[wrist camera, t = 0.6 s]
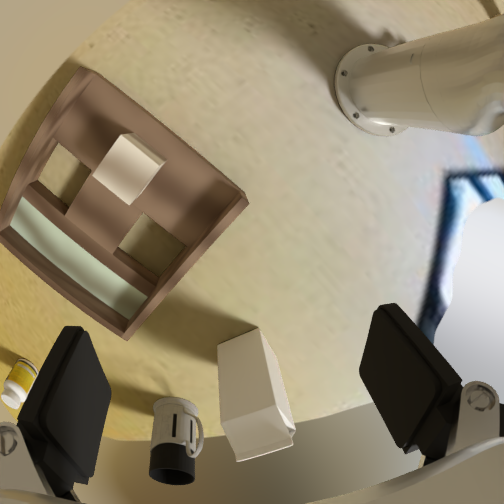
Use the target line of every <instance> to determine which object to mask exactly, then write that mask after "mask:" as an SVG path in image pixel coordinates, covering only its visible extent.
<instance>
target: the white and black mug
mask: <svg viewBox="0 0 504 504" xmlns="http://www.w3.org/2000/svg"><path fill="white" fill-rule="evenodd" d="M153 410H154V413H155V414H154V422H153V430H152V438H151V448H150V453H151V457H150V468H149V475H150V477H152V479H154V480H156V481H158V482H161V483H165V484H170V485H186V484H190V483H192V482H194V480H195V457H196V456H197V455H198V454H199V453H200V451H201V449H202V446H203V439H204V437H203V428H202V424H201V421H200V420H199V418H198V417H197V416H198V409H197V407H196V406H195V405H194V404H193V403H191V402H190V401H188V400H185V399H182V398H177V397H165V398H162V399H159V400H157V401H156V402H155V403H154V405H153ZM196 422H197V425H198V430H199V443H198V447H197V449H196Z"/></svg>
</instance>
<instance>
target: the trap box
mask: <svg viewBox="0 0 504 504" xmlns="http://www.w3.org/2000/svg"><path fill="white" fill-rule="evenodd" d="M129 133H135V134H136V135H137V136H139V137H140V138H141V139H142V140H144V141H145V142H146V143H147V144H149V145H150V146H151V147H152V148H153V149H155V150H156V151H157V152H158V153H160V154H161V155H162V156H163V157H165V158H166V159H167V161H166V162H165V164H164V165H163V166H162V167H161V169H160V170H159V171H158V172H157V174H156V175H155V176H154V177H153V179H152V180H151V181H150V183H149V184H148V185H147V186H146V188H145V189H144V190H143V192H142V193H141V194H140V195H139V196H138V197H137V198H136V199H135V200H134V201H133V202H132V203H131V204H130V205H128V204H127V203H125V202H124V201H123V200H122V199H120V198H119V197H118V196H117V195H115V194H114V193H113V192H112V191H110V190H109V189H108V188H107V187H106V186H104V185H103V184H102V183H101V182H99V181H98V180H97V179H96V178H95V177H93V176H92V175H93V174H94V172H95V171H96V169H97V168H98V166H99V165H100V163H101V162H102V160H103V159H104V157H105V156H106V154H107V153H108V152H109V150H110V149H111V147H112V146H113V145H114V143H115V142H116V141H117V139H118V138H119V136H120V135H122V134H129ZM58 142H59V143H60V144H61V145H62V146H63V147H65V148H66V149H67V150H68V151H69V152H70V153H72V154H73V155H74V156H75V157H76V158H78V159H79V160H80V161H81V162H82V163H84V164H85V165H86V166H87V167H88V168H90V169H91V170H92V172H91V173H90V175H89V176H88V178H87V179H86V181H85V183H84V184H83V186H82V187H81V189H80V191H79V192H78V194H77V196H76V197H75V199H74V201H73V202H72V204H71V206H70V207H68V206H67V205H66V204H64V203H63V202H62V201H61V200H60V199H59V198H57V197H56V196H55V195H54V194H53V193H52V192H50V191H49V190H48V189H47V188H46V187H45V186H44V185H43V184H41V183H40V182H39V181H38V178H39V176H40V174H41V172H42V170H43V168H44V167H45V165H46V163H47V161H48V159H49V158H50V156H51V154H52V152H53V151H54V149H55V147H56V145H57V144H58ZM248 205H249V202H248V199H247V197H246V195H245V192H244V191H242V190H241V189H240V188H239V187H238V186H237V185H236V184H234V183H233V182H232V181H231V180H230V179H229V178H227V177H226V176H225V175H224V174H223V173H222V172H220V171H219V170H218V169H217V168H216V167H215V166H213V165H212V164H211V163H210V162H209V161H207V160H206V159H205V158H204V157H203V156H201V155H200V154H199V153H198V152H197V151H195V150H194V149H193V148H192V147H191V146H189V145H188V144H187V143H186V142H185V141H183V140H182V139H181V138H180V137H179V136H177V135H176V134H175V133H174V132H172V131H171V130H170V129H169V128H168V127H166V126H165V125H164V124H163V123H161V122H160V121H159V120H158V119H156V118H155V117H154V116H153V115H151V114H150V113H149V112H148V111H146V110H145V109H144V108H143V107H141V106H140V105H139V104H138V103H136V102H135V101H134V100H133V99H131V98H130V97H129V96H127V95H126V94H125V93H124V92H122V91H121V90H120V89H118V88H117V87H116V86H115V85H113V84H112V83H111V82H109V81H108V80H107V79H105V78H104V77H103V76H102V75H100V74H99V73H97V72H94V71H91V70H89V69H86V68H83V67H80V68H79V69H78V70H77V72H76V73H75V74H74V76H73V77H72V78H71V80H70V81H69V83H68V84H67V85H66V87H65V88H64V90H63V91H62V93H61V94H60V96H59V97H58V99H57V100H56V102H55V103H54V105H53V106H52V108H51V110H50V111H49V113H48V114H47V116H46V118H45V119H44V121H43V123H42V124H41V126H40V128H39V130H38V131H37V133H36V135H35V137H34V138H33V140H32V142H31V144H30V146H29V148H28V150H27V152H26V154H25V155H24V157H23V159H22V161H21V164H20V166H19V168H18V170H17V172H16V174H15V176H14V178H13V181H12V183H11V185H10V187H9V190H8V192H7V195H6V197H5V199H4V202H3V204H2V207H1V210H0V243H2V244H3V245H4V246H5V247H6V248H7V249H8V250H9V251H10V252H11V253H12V254H13V255H14V256H16V257H17V258H18V259H19V260H20V261H21V262H22V263H23V264H24V265H26V266H27V267H28V268H29V269H30V270H31V271H33V272H34V273H35V274H36V275H37V276H38V277H40V278H41V279H42V280H43V281H44V282H46V283H47V284H48V285H49V286H51V287H52V288H53V289H54V290H56V291H57V292H58V293H59V294H61V295H62V296H63V297H65V298H66V299H67V300H69V301H70V302H71V303H72V304H74V305H75V306H76V307H78V308H79V309H81V310H82V311H83V312H85V313H86V314H87V315H89V316H90V317H92V318H93V319H94V320H96V321H97V322H99V323H100V324H102V325H103V326H105V327H106V328H107V329H109V330H110V331H112V332H113V333H115V334H116V335H118V336H119V337H121V338H123V339H124V340H126V341H128V340H129V339H130V337H131V336H132V335H133V334H134V333H135V332H136V330H137V329H138V328H139V327H140V326H141V325H142V323H143V322H144V321H145V320H146V319H147V317H148V316H149V315H150V314H151V313H152V312H153V310H154V309H155V308H156V307H157V306H158V305H159V304H160V302H161V301H162V300H163V299H164V298H165V297H166V295H167V294H168V293H169V292H170V291H171V290H172V289H173V287H174V286H175V285H176V284H177V283H178V282H179V281H180V280H181V278H182V277H183V276H184V275H185V274H186V273H187V272H188V270H189V269H190V268H191V267H192V266H193V265H194V264H195V263H196V262H197V260H198V259H199V258H200V257H201V256H202V255H203V254H204V253H205V251H206V250H207V249H208V248H209V247H210V246H211V245H212V244H213V243H214V242H215V240H216V239H217V238H218V237H219V236H220V235H221V234H222V233H223V232H224V231H225V229H226V228H227V227H228V226H229V225H230V224H231V223H232V222H233V221H234V220H235V219H236V217H237V216H238V215H239V214H240V213H241V212H242V211H243V210H244V209H245V208H246V207H247V206H248ZM143 212H144V213H145V214H146V215H147V216H149V217H150V218H151V219H153V220H154V221H155V222H156V223H158V224H159V225H160V226H161V227H163V228H164V229H165V230H167V231H168V232H169V233H170V234H172V235H173V236H174V237H176V238H177V239H178V240H179V241H181V242H182V243H183V244H185V245H186V247H185V248H184V249H183V250H182V251H181V252H180V254H179V255H178V256H177V257H176V258H175V259H174V261H173V262H172V263H171V264H170V265H169V267H168V268H167V269H166V270H165V271H164V272H163V274H162V275H161V276H160V277H157V276H156V275H155V274H153V273H152V272H151V271H149V270H148V269H146V268H145V267H144V266H142V265H141V264H140V263H138V262H137V261H136V260H134V259H133V258H132V257H130V256H129V255H128V254H127V253H125V252H124V251H123V250H121V249H120V248H119V247H118V246H119V244H120V243H121V241H122V240H123V239H124V237H125V236H126V234H127V233H128V232H129V230H130V229H131V228H132V226H133V225H134V223H135V222H136V221H137V219H138V218H139V217H140V215H141V214H142V213H143Z"/></svg>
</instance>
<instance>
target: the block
mask: <svg viewBox="0 0 504 504" xmlns="http://www.w3.org/2000/svg"><path fill="white" fill-rule="evenodd" d="M166 161H167V159H166V158H165V157H163V156H162V155H161V154H160V153H158V152H157V151H156V150H155V149H153V148H152V147H151V146H150V145H149V144H147V143H146V142H145V141H144V140H142V139H141V138H140V137H139V136H137V135H136V134H135V133H129V134H122V135H120V136H119V138H118V139H117V141H116V142H115V143H114V145H113V146H112V147H111V149H110V150H109V152H108V153H107V154H106V156H105V157H104V159H103V160H102V162H101V163H100V165H99V166H98V168H97V169H96V171H95V172H94V174H93V175H92V176H93V177H95V178H96V179H97V180H98V181H99V182H101V183H102V184H103V185H104V186H106V187H107V188H108V189H109V190H110V191H112V192H113V193H114V194H115V195H117V196H118V197H119V198H120V199H122V200H123V201H124V202H125V203H127V204H128V205H130V204H131V203H132V202H133V201H134V200H135V199H136V198H137V197H138V196H139V195H140V194H141V193H142V192H143V190H144V189H145V188H146V186H147V185H148V184H149V183H150V181H151V180H152V179H153V177H154V176H155V175H156V174H157V172H158V171H159V170H160V169H161V167H162V166H163V165H164V164H165V162H166Z"/></svg>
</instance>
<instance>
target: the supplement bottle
mask: <svg viewBox="0 0 504 504" xmlns="http://www.w3.org/2000/svg"><path fill="white" fill-rule="evenodd" d="M37 375H38V371H37V369H36V367H35V366H34V365H33V364H32V363H31V362H29V361H28V360H25V359H18V360H17V362H16V363H15V365H14V367H13V368H12V370H11V372H10V373H9V375H8V377H7V378H6V380H5V382H4V389H5V390H4V391H3V393H2V395H1V398H2V400H3V401H4V402H5V403H6V404H7V405H8V406H10V407H11V408H13V409H18V408H19V406H20V404H21V402H24V401H25V400H26V398H27V396H28V394H29V391H30V389H31V387H32V385H33V383H34V381H35V379H36V377H37Z"/></svg>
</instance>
